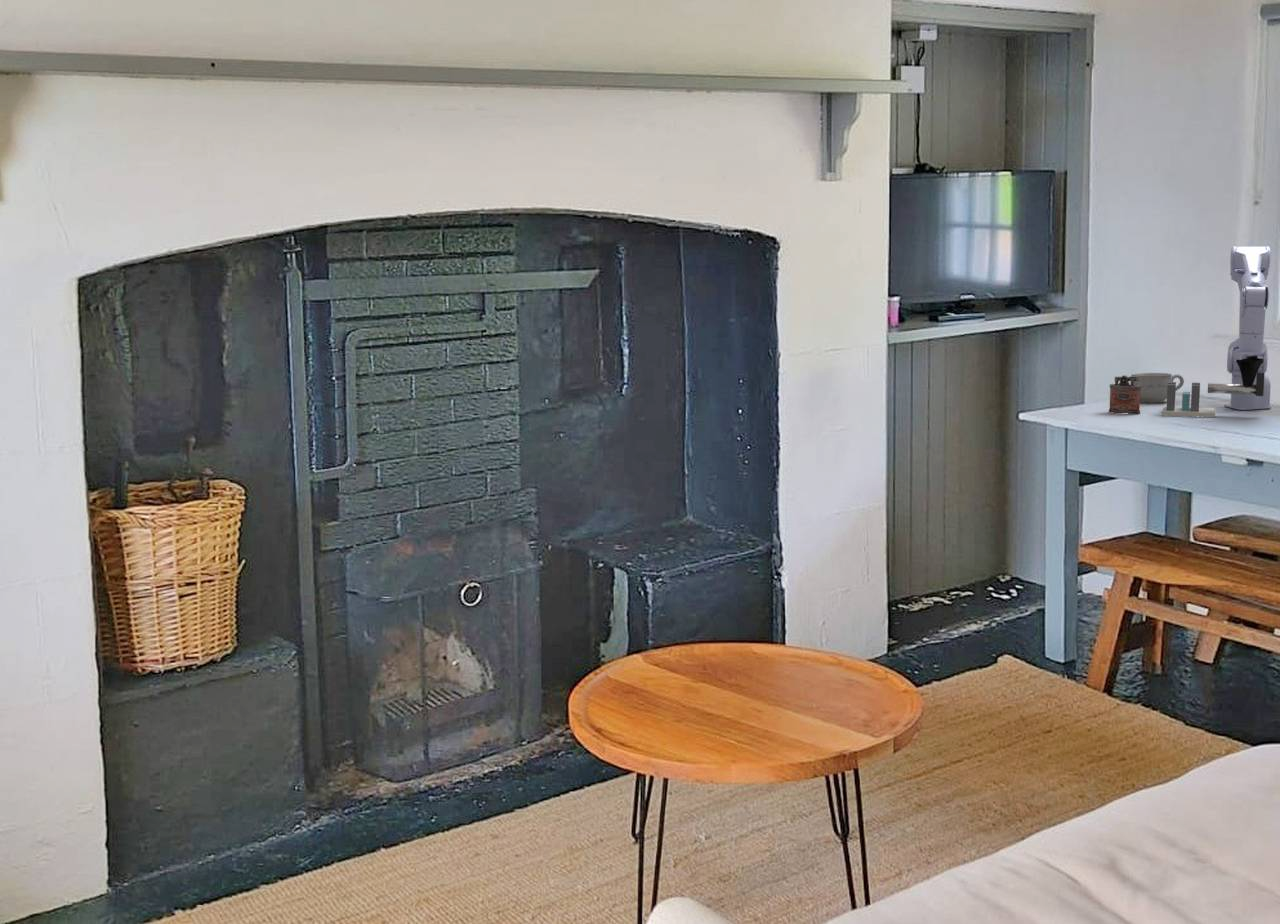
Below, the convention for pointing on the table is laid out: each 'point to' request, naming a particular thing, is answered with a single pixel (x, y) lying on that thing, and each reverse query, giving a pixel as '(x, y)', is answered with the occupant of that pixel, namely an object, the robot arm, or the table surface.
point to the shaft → (1239, 387)
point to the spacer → (1185, 401)
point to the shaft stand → (1193, 410)
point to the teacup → (1155, 385)
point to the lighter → (1125, 395)
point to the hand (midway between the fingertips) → (1247, 385)
